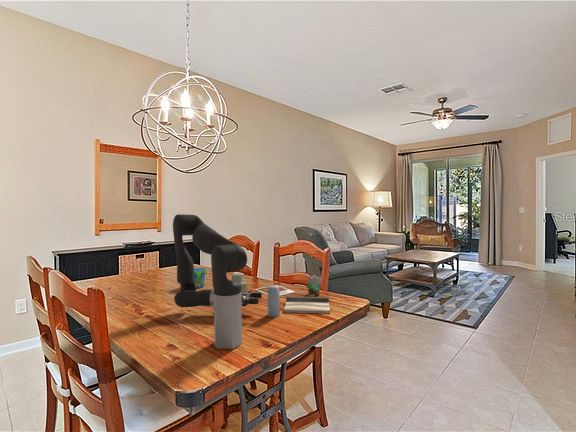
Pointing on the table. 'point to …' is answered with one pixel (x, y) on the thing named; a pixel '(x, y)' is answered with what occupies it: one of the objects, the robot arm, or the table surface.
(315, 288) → the food container
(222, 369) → the table surface
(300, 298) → the board
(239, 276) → the air freshener
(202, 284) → the snack cup
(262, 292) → the photo frame
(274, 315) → the roller
